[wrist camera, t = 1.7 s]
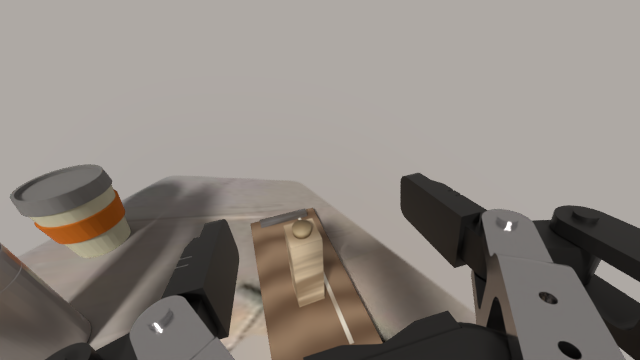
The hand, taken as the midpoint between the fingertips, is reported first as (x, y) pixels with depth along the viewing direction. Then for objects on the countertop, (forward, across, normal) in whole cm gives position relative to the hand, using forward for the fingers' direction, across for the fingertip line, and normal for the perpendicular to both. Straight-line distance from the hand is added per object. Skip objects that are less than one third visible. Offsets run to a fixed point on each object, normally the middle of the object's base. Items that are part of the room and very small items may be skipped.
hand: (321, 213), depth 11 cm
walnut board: (+22, -3, -26) cm, 34 cm away
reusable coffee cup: (+40, -42, -20) cm, 61 cm away
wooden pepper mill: (+18, -2, -25) cm, 31 cm away
